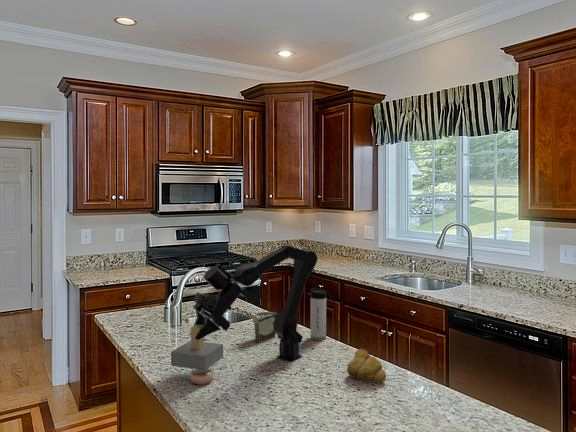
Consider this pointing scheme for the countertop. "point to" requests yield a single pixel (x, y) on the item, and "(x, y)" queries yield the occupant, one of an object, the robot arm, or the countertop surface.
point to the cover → (197, 352)
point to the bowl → (201, 376)
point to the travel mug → (318, 314)
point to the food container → (264, 326)
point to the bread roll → (366, 367)
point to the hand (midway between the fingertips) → (193, 337)
